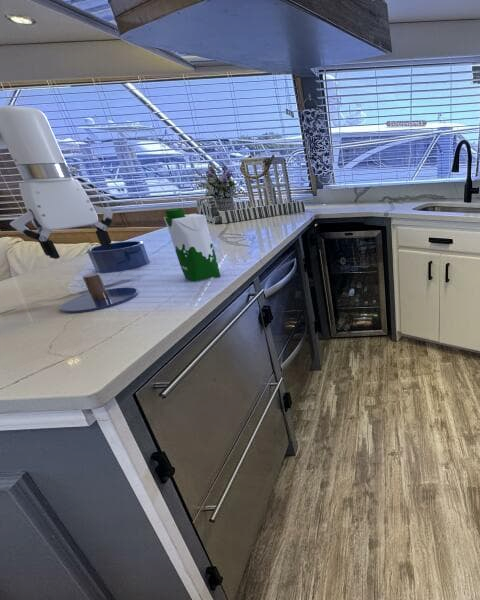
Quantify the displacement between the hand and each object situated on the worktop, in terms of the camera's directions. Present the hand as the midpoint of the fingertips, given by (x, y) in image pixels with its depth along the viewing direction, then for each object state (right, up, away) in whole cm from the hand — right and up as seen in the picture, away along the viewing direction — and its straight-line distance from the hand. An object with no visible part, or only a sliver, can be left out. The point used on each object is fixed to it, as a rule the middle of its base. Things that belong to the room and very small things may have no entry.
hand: (82, 252), depth 75 cm
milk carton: (+16, -5, +20) cm, 26 cm away
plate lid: (0, -11, +5) cm, 12 cm away
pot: (-15, -2, +29) cm, 33 cm away
